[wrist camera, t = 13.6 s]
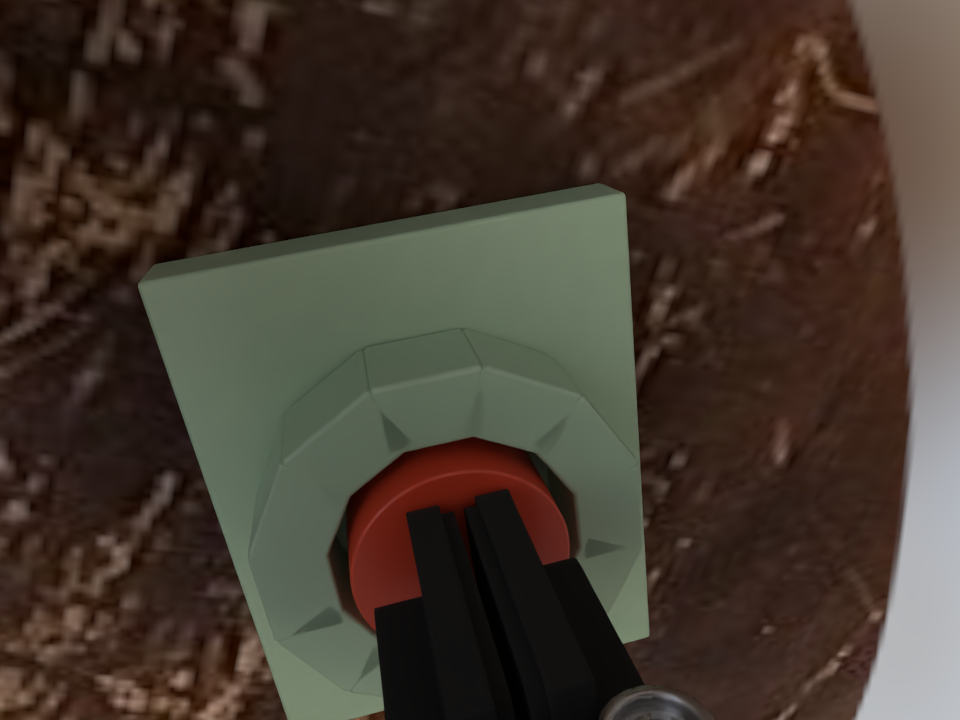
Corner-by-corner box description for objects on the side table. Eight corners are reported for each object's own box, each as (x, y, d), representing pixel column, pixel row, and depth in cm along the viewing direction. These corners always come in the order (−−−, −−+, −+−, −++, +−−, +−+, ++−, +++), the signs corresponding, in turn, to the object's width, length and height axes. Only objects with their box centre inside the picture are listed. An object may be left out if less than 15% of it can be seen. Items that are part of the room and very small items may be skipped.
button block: (150, 263, 12) (103, 321, 9) (601, 182, 13) (676, 211, 10) (294, 692, 16) (289, 819, 13) (630, 601, 17) (689, 701, 14)
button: (325, 445, 12) (327, 502, 11) (529, 399, 13) (560, 447, 11) (368, 608, 14) (375, 679, 12) (549, 561, 14) (579, 623, 12)
